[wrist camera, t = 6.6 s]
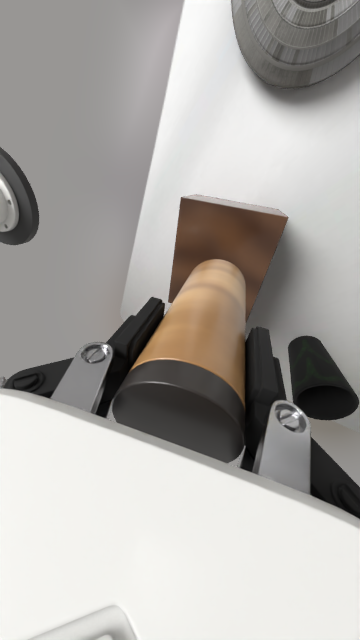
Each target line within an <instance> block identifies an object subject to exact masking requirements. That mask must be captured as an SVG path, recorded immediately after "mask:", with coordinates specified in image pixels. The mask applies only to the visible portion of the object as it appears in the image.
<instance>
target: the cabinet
mask: <svg viewBox="0 0 360 640" xmlns="http://www.w3.org/2000/svg"><path fill="white" fill-rule="evenodd" d="M287 220H288V217H287V216H286V215H285V214H284V213H282V212H281V211H280V210H278V209H273V208H268V207H262V206H257V205H251V204H246V203H241V202H235V201H230V200H224V199H219V198H213V197H208V196H202V195H197V194H196V195H190V196H184V197H181V202H180V210H179V218H178V226H177V234H176V242H175V251H174V259H173V267H172V275H171V283H170V291H169V299H168V302H169V303H173V301H174V300H175V298H176V296H177V295H178V293H179V292H180V290H181V288H182V287H183V285H184V284H185V282H186V280H187V279H188V277H189V276H190V274H191V272H192V271H193V270H194V268H195V267H197V266H198V265H199V264H201V263H202V262H205V261H207V260H212V259H220V260H225V261H228V262H230V263H232V264H233V265H235V266H236V267H237V268H238V269H239V270H240V271H241V273H242V274H243V276H244V279H245V284H246V313H245V323H246V322H247V319H248V317H249V314H250V312H251V309H252V307H253V304H254V302H255V300H256V297H257V295H258V292H259V290H260V287H261V285H262V282H263V280H264V277H265V275H266V272H267V270H268V267H269V265H270V262H271V260H272V257H273V255H274V252H275V250H276V248H277V245H278V243H279V240H280V238H281V235H282V233H283V230H284V228H285V225H286V223H287Z"/></svg>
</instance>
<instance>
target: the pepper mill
mask: <svg viewBox="0 0 360 640" xmlns="http://www.w3.org/2000/svg"><path fill="white" fill-rule="evenodd" d="M245 313H246V284H245V279H244V276H243V274H242V273H241V271H240V270H239V269H238V268H237V267H236V266H235V265H233V264H232V263H230V262H228V261H225V260H220V259H212V260H207V261H205V262H202V263H201V264H199V265H198V266H197V267H195V268H194V270H193V271H192V272H191V274H190V276H189V277H188V279H187V280H186V282H185V284H184V285H183V287H182V288H181V290H180V292H179V293H178V295H177V296H176V298H175V300H174V301H173V303H172V304H171V306H170V308H169V309H168V311H167V312H166V314H165V315H164V317H163V319H162V320H161V322H160V323H159V325H158V327H157V328H156V330H155V331H154V333H153V335H152V336H151V338H150V339H149V341H148V343H147V344H146V346H145V347H144V349H143V351H142V352H141V354H140V355H139V357H138V359H137V360H136V362H135V363H134V365H133V366H132V368H131V370H130V371H129V373H128V374H127V376H126V378H125V379H124V381H123V382H122V384H121V386H120V387H119V389H118V390H117V392H116V394H115V395H114V397H113V401H112V412H113V415H114V418H115V419H116V422H117V423H119V424H122V425H125V426H127V427H130V428H133V429H136V430H138V431H141V432H144V433H146V434H149V435H152V436H155V437H157V438H160V439H163V440H165V441H168V442H171V443H173V444H176V445H179V446H182V447H184V448H187V449H190V450H192V451H195V452H198V453H200V454H203V455H206V456H209V457H211V458H214V459H217V460H219V461H222V462H225V463H229V462H231V461H233V460H235V459H236V458H237V457H238V456H239V455H240V454H241V453H242V451H243V449H244V446H245Z"/></svg>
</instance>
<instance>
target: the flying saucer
mask: <svg viewBox="0 0 360 640" xmlns="http://www.w3.org/2000/svg"><path fill="white" fill-rule="evenodd" d="M231 4H232V17H233V24H234V30H235V34H236V38H237V42H238V45H239V47H240V50H241V52H242V55H243V57H244V59H245V60H246V62H247V64H248V65H249V67H250V68H251V69H252V70H253V72H254V73H255V74H256V75H257V76H258V77H260V78H261V79H262V80H264V81H265V82H267V83H269V84H271V85H273V86H276V87H280V88H287V89H294V88H302V87H307V86H310V85H313V84H316V83H319V82H321V81H323V80H325V79H327V78H329V77H331V76H333V75H334V74H336V73H337V72H339V71H340V70H342V69H343V68H345V67H346V66H347V65H348V64H350V63H351V62H352V61H353V60H354V59H356V58H357V57H358V56H359V55H360V0H231Z"/></svg>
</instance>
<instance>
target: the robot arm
mask: <svg viewBox="0 0 360 640" xmlns="http://www.w3.org/2000/svg"><path fill="white" fill-rule="evenodd" d="M18 220H19V209H18V204H17V200H16V198H15V195H14V193H13V191H12V189H11V187H10V185H9V184H8V182H7V180H6V179H5V178H4V176H3V175H2V174H1V173H0V232H5V231H10V230H12V229H14V228H15V227H16V225H17V223H18ZM164 308H165V303H162V300H161V299H158V298H154V297H151V298H150V300H149V301H148V302H147V303H146V304H145V305H144V307H143V308H142V309H141V310H140V311H139V313H138V314H137V315H136V316H133V315H131V316H130V317H129V318H128V319H127V320H126V321H125V322H124V323H123V324H122V325H121V327H120V328H119V329H118V330H117V331H116V332H115V333H114V335H113V336H112V337H111V338H110V339H109V340H108V341H107V342H106V343H103V342H93V343H89V344H86V345H84V346H83V347H81V348H80V350H79V351H78V352H77V354H76V356H75V357H74V358H70V359H66V360H62V361H58V362H54V363H50V364H46V365H41V366H38V367H33V368H29V369H26V370H22V371H20V372H18V373H16V374H14V375H13V376H11V377H10V378H9V379H7V380H6V379H5V377H1V378H0V640H360V487H359V486H358V485H357V484H356V483H355V482H354V481H353V480H352V479H351V478H350V477H349V476H348V475H347V474H346V473H345V472H344V471H343V470H342V468H341V467H340V466H339V465H338V464H337V463H336V462H335V461H334V460H333V459H332V458H331V457H330V456H329V455H328V454H327V453H326V452H325V451H324V450H323V449H322V448H321V447H320V446H319V445H318V444H317V443H316V441H315V440H314V439H313V438H312V437H311V427H310V422H309V420H308V418H307V416H306V415H305V413H304V412H303V411H302V410H301V409H300V408H299V407H298V406H296V405H294V404H293V403H291V402H288V401H287V400H286V394H285V389H284V384H283V378H282V373H281V368H280V362H279V359H278V358H276V357H273V354H272V347H271V341H270V335H269V330H268V329H265V328H262V327H258V326H257V327H256V329H255V328H252V329H251V331H250V333H249V335H248V338H247V340H246V342H245V446H244V449H243V451H242V453H241V455H240V458H239V462H238V465H237V467H235V466H232V465H230V464H227V463H225V462H222V461H219V460H217V459H214V458H211V457H209V456H206V455H203V454H200V453H198V452H195V451H192V450H190V449H187V448H184V447H182V446H179V445H176V444H173V443H171V442H168V441H165V440H163V439H160V438H157V437H155V436H152V435H149V434H146V433H144V432H141V431H138V430H136V429H133V428H130V427H127V426H125V425H122V424H119V423H116V422H114V421H111V420H109V417H110V413H111V410H112V401H113V397H114V395H115V394H116V392H117V390H118V389H119V387H120V386H121V384H122V382H123V381H124V379H125V378H126V376H127V374H128V373H129V371H130V370H131V368H132V366H133V365H134V363H135V362H136V360H137V359H138V357H139V355H140V354H141V352H142V351H143V349H144V347H145V346H146V344H147V343H148V341H149V339H150V338H151V336H152V335H153V333H154V331H155V330H156V328H157V327H158V325H159V323H160V322H161V320H162V319H163V315H164Z"/></svg>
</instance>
